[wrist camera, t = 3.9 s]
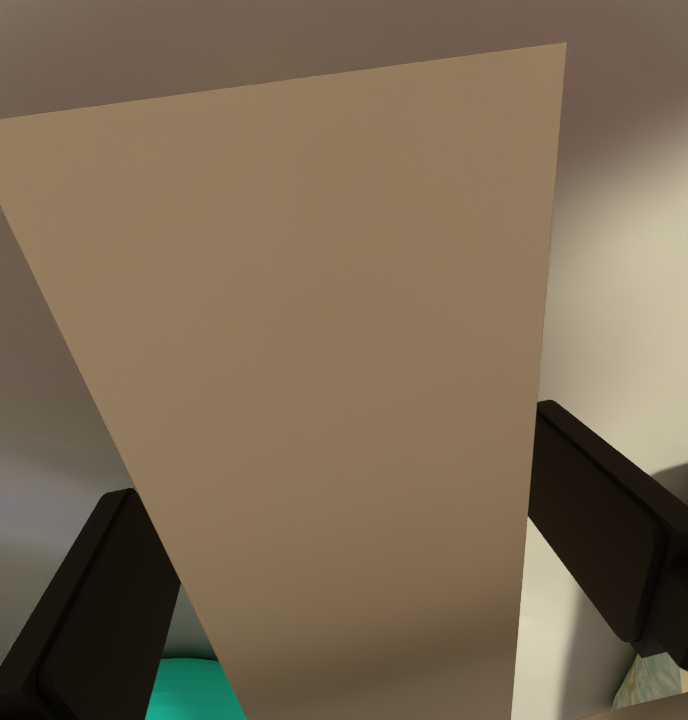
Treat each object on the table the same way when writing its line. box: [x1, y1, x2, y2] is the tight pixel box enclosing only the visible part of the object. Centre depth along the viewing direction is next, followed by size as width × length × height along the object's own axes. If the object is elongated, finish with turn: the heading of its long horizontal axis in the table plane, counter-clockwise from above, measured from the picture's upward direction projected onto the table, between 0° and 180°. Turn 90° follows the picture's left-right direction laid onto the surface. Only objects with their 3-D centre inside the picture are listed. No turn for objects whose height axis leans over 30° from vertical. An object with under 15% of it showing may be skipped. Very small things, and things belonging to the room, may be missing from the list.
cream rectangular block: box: [0, 42, 567, 720], centre depth 9 cm, size 15×4×7 cm, turn 8°
